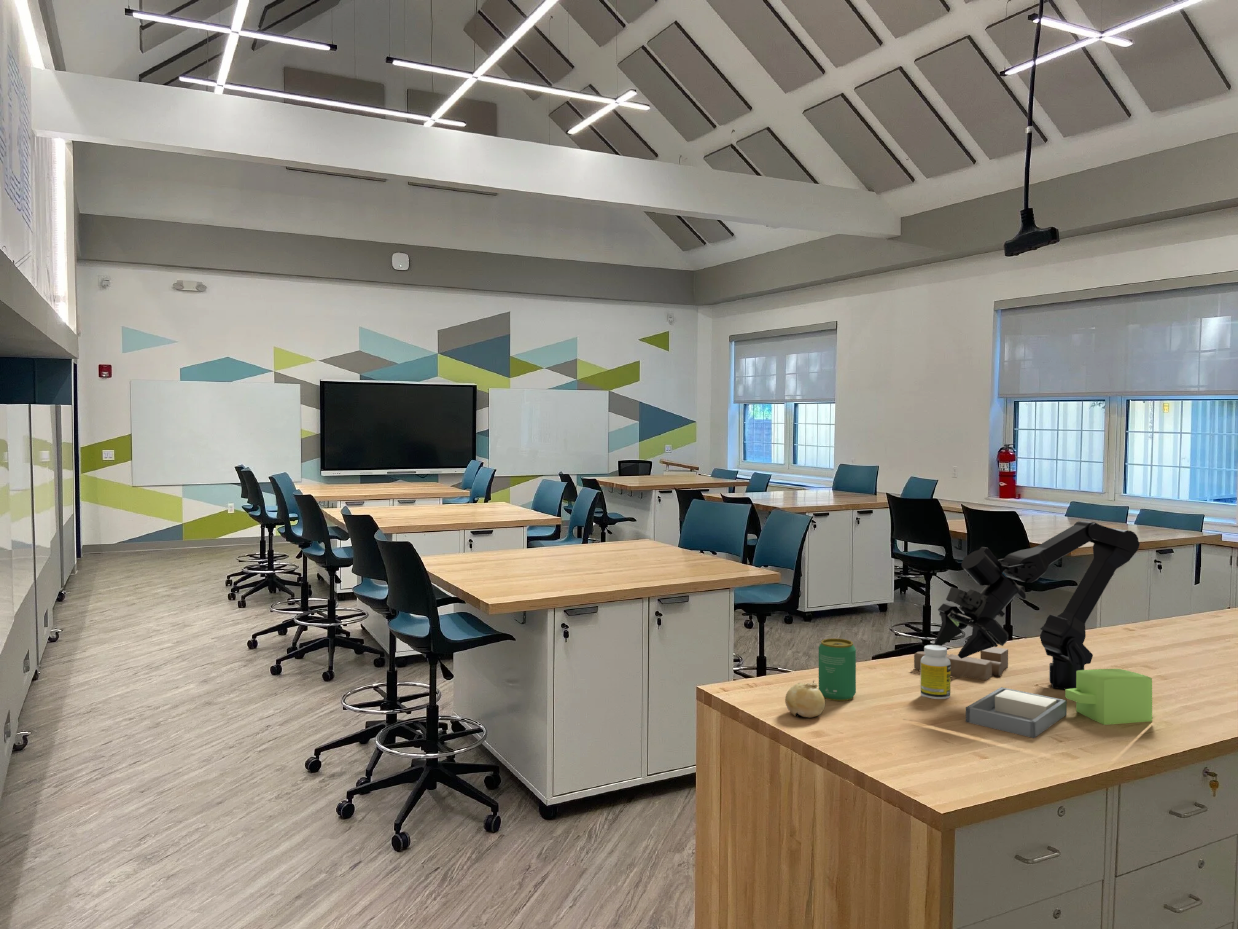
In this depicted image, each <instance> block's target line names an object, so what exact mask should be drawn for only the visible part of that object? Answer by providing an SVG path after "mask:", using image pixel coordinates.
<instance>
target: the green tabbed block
mask: <svg viewBox="0 0 1238 929" xmlns="http://www.w3.org/2000/svg"><path fill="white" fill-rule="evenodd" d="M1064 691H1065V694H1064V695H1065V696H1064V697H1065V698H1066V699H1068V700H1070V701H1073V702H1074V703H1075V702H1076V703H1075V706H1076V707H1075V708H1076V710H1075V711H1076V712H1077V713H1079V714H1080V715H1083V716H1085V717H1086V718H1089V719H1090V720H1092V721H1095V722H1096V723H1099V724H1101V725H1105V726H1106V725H1109V726H1110V725H1118V724H1120V725H1121V724H1130V723H1131V724H1132V723H1134V724H1135V723H1145V722H1147V723H1149V722H1150V723H1152V722H1153V678H1152V677H1150V676H1147V675H1145V674H1143V673H1142V674H1141V673H1139V672H1134V671H1131V670H1128V669H1127V670H1126V669H1122V668H1099V669H1098V668H1096V669H1084V670H1079V671H1076V688H1073V689H1064Z"/></svg>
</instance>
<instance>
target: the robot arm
mask: <svg viewBox="0 0 1238 929" xmlns="http://www.w3.org/2000/svg"><path fill="white" fill-rule="evenodd" d="M1089 542H1090V543H1092V544H1093V545H1092V553H1093V554H1092V555H1093V559H1092V561H1091V563H1090V564H1089V566H1088V568H1087V570H1086V572H1085V573H1084V575H1083V577H1082V578H1081V580H1080V582H1079V584H1078V585H1077V587H1076V589H1075V591H1074V592H1073V594H1072V596H1071V598H1070V599H1069V601H1068V603H1067V604H1066V606H1065V608H1064V610H1063V611H1062V612H1061V613H1060V614H1058V615H1054V614H1049V615H1048V616H1047V618H1046V621H1045V623H1044V624H1043V625H1042V626H1041V627H1040V628H1039V629H1040V631H1041V632H1040V635H1039V639H1040V643H1041V645H1042V647H1043V648H1044V651H1045V654H1046V656H1048V657H1051V658H1052V660H1051V661H1052V662H1050V663H1049V671H1048V672H1049V674H1048V677H1049V678H1048V680H1049V681H1048V682H1049V684H1051V686H1052V688H1053V689H1059V690H1065V689H1073V688H1076V671H1079V670H1085V665H1089V664H1091V662H1092V660H1093V656H1094V654H1093V653H1092V652H1091V651H1090V650H1089V648H1087V646H1085V645H1084V642H1085V640H1086V635H1087V634H1086V624H1087V621H1088V619H1089V618H1090V616H1091V614H1092V612H1093V611H1094V608H1095V606H1096V605H1097V604H1098V602H1099V600H1100V598H1101V596H1102V595H1103V593H1104V591H1105V589H1106V588H1107V586H1108V584H1109V582H1110V581H1111V579H1112V577H1113V575H1114V574H1115V572H1117V569H1119V568H1121V567H1122V566H1124V565H1126V564H1127V563H1128V562H1130V560H1131V559H1132V558H1133V557H1134V556H1135V554H1136V553H1137V552H1138V550H1139V548H1140V545H1141V542H1140V541H1139V537H1138V535H1137V534H1136V532H1134V531H1132V530H1127V529H1120V528H1114V527H1107V526H1104V525H1102V524H1099V523H1097V522H1095V521H1088V520H1078V521H1076V522H1075V523H1074V524H1073V525H1072V526H1070V527H1068V528H1066V529H1064V530H1063V531H1061V532H1060V533H1058V534H1056V535H1054V536H1052V537H1051V538H1049V539H1047V540H1046V541H1044V542H1042V543H1040V544H1038V545H1037V546H1034V547H1030V548H1026V549H1020V550H1017V551H1014V552H1010V553H1009V554H1007V555H1006V556H1004V558H1000V559H997V557H996V556H995V555H994V554H993V552H992V551H991V550H990V548H989V547H985V546H981V547H980V548H979V549H977V550H975V551H971V552H970V553H969V554H967V555H965V556H964V558H963V559H962V561H961V568H962V569H964V571H965V572H966V573H967V574H968V575H969V576H970V577H971V579H972V580H974V581H975V583H976V584H978V585H979V586H985V587H984V588H983V589H982V590H981V592H979V591H977V590H975V589H969V590H967V591H966V590H961V589H960V588H956V587H953V586H951V587H950V589H949V591H948V594H947V596H946V598H945V601H947V603H941V605H940V606H939V607H938V609H937V611H938V614H939V615H938V616H939V617H940V619H941V620H940V621H941V624H940V628H939V631H938V633H937V635H936V638H935V640H934V643H933V645H939V646H944V645H945V644H946V643H949V642H950V641H951V640H953V639H954V638H956V637H957V636H959V635H960V634H962V633H963V630H964V629H966V628H967V627H970V628H972V632H971V636H969V638H968V639H967V641H966V642H965V644H964V645H963V646H962V647H961V649H960V650H959V652H958V654H957V655H958V656H959V657H960V658H961V659H962V658H965V657H970V656H972V655H975V654H977V653H981V651H982V650H985V649H988V648H991V647H997V648H998V646H1001V647H1004V646H1005V644H1006V643H1007V641H1009V632H1008V631H1006V630H1005V628H1004V627H1003V626H1002V625H1001V624H1000V623H999V622H998V621H997V619H996V618H997V617H1000V618H1003V617H1004V616H1005V614H1006V613H1005V612H1004V609H1005V608H1006V607H1007V606H1008V604H1009V603H1010V602H1011V601H1012V600H1013V599H1014V598H1018V599H1022V600H1026V598H1027V596H1026V590H1025V587H1026V586H1023V585H1019V584H1017V582H1015V581H1014V580H1017V581H1019V582H1023V583H1028V584H1031V583H1034V582H1035V581H1037V580H1039V578H1041V577H1042V576H1043V575H1045V573H1046V572H1047V570H1048V568H1049V566H1050V565H1052V564H1053V563H1054V562H1057V561H1058V560H1060V559H1062V558H1063V557H1065V556H1068V555H1069V554H1070V553H1072V552H1074V551H1075V550H1077V549H1078V548H1081V547H1082V546H1084V545H1086V544H1087V543H1089ZM948 602H952V603H954V604H956V605H957V606H959V607H957V606H956V605H954V604H951V603H948Z"/></svg>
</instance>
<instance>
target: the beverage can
mask: <svg viewBox="0 0 1238 929" xmlns="http://www.w3.org/2000/svg"><path fill="white" fill-rule="evenodd" d="M820 642H821V643H820V644H819V646H818V689H819V690H820V691H821V693H822V695H823V697H824V699H825V698H826V699H825V700H828V699H830V700H829V701H837V702H846V701H847V702H848V701H850V700H853V699H854V698H855V695H856V694H857V685H856V684H857V648H856V647H855V645H854V642H853V641H852V640H849V639H845V638H825V639H822V640H821V641H820ZM853 697H854V698H853Z"/></svg>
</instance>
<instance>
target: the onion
mask: <svg viewBox="0 0 1238 929" xmlns="http://www.w3.org/2000/svg"><path fill="white" fill-rule="evenodd" d="M815 681H816V680H812V682H811V683H809V682H808V683H803V682H802V683H801V682H799V683H797V684H794V685H793V686H791V687H790V688H789V689H788V691H787V692H786V694H785V698H784V703H785V706H786V708H787V710H788V711H789V712H790V713H791V714H792V715H793V716H795V717H797V718H798V717H799V716H801V717H803V718H814V717H817V716H820V715H821V714H822V712H823V711H824V709H825V707H826V704H825V703H826V701H825V700H826V699H825V698H824V697H823V695H822V693H821V691H820V690H819V685H818V683H815ZM797 714H798V715H797ZM796 715H797V716H796Z"/></svg>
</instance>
